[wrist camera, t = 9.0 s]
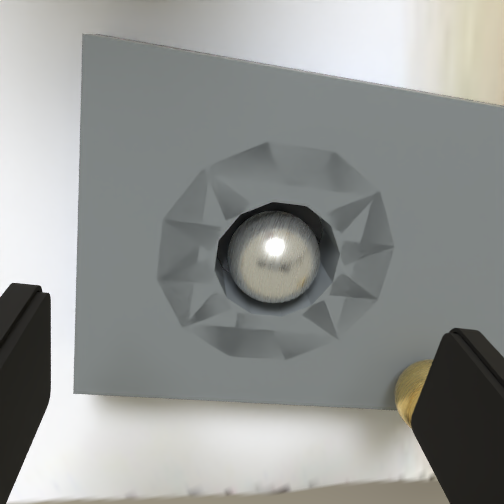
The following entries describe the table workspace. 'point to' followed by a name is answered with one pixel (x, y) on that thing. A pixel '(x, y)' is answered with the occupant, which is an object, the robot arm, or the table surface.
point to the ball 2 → (410, 388)
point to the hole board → (282, 191)
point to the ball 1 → (273, 257)
